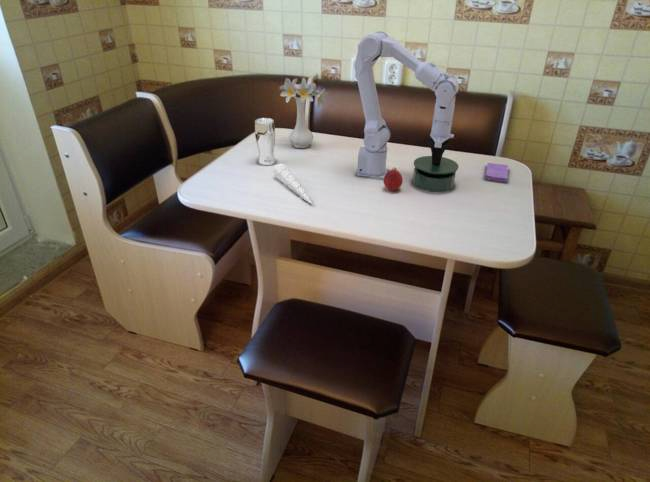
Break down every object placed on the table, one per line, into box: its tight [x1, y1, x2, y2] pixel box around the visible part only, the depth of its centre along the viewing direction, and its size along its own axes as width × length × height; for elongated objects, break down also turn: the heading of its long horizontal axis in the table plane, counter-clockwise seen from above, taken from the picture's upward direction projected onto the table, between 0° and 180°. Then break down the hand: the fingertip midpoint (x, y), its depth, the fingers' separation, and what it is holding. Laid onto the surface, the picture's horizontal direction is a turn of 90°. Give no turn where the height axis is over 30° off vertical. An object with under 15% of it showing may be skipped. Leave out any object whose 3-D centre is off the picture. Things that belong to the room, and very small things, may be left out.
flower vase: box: [279, 77, 329, 149], centre depth 171 cm, size 13×18×25 cm
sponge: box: [484, 162, 509, 183], centre depth 156 cm, size 7×13×2 cm, turn 160°
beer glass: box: [254, 117, 276, 166], centre depth 159 cm, size 7×7×15 cm
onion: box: [383, 166, 403, 192], centre depth 142 cm, size 6×6×8 cm
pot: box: [412, 166, 457, 193], centre depth 147 cm, size 13×13×5 cm
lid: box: [413, 155, 459, 174], centre depth 144 cm, size 14×14×5 cm
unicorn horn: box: [272, 163, 313, 205], centre depth 142 cm, size 5×24×5 cm, turn 26°
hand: (436, 161), depth 144 cm, fingers closed on lid, 2 cm apart
